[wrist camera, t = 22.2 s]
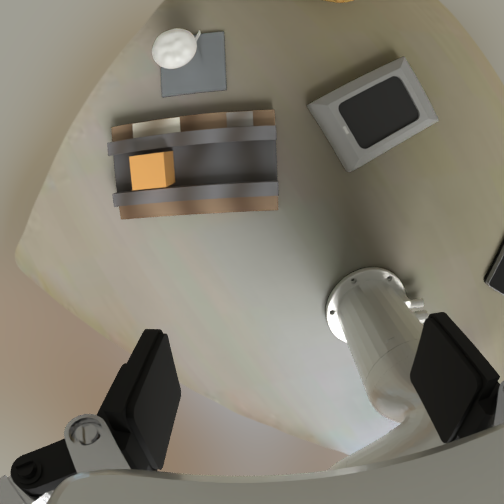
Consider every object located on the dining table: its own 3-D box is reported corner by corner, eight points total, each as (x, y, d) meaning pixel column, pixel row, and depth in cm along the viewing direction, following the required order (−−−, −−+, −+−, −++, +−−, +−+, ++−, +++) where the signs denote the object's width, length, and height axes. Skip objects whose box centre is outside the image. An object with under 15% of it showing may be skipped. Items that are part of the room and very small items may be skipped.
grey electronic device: (443, 120, 31) (353, 173, 34) (430, 121, 35) (345, 170, 38) (408, 53, 29) (310, 102, 32) (396, 59, 32) (305, 106, 35)
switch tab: (172, 150, 35) (163, 152, 31) (175, 182, 36) (166, 187, 32) (141, 154, 35) (129, 156, 31) (144, 185, 36) (132, 190, 32)
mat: (224, 33, 31) (223, 31, 31) (226, 90, 34) (226, 89, 34) (162, 41, 32) (160, 40, 31) (163, 97, 34) (161, 96, 34)
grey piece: (273, 111, 35) (275, 108, 32) (277, 206, 39) (279, 212, 36) (117, 127, 36) (106, 126, 32) (126, 215, 40) (116, 222, 36)
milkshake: (219, 73, 33) (206, 51, 23) (177, 87, 33) (151, 71, 24) (209, 42, 31) (194, 13, 22) (168, 56, 32) (141, 32, 23)
